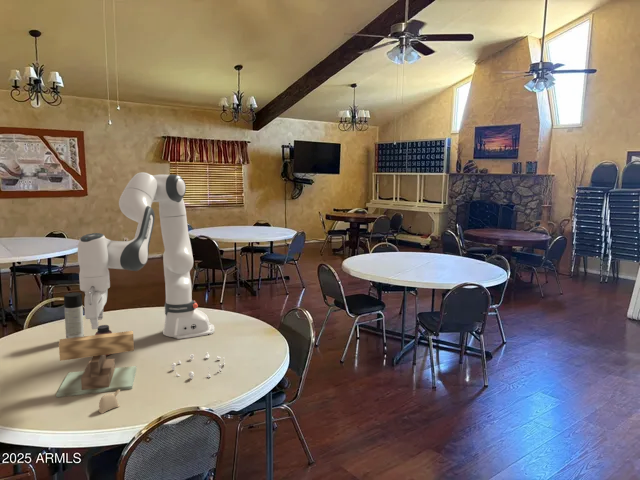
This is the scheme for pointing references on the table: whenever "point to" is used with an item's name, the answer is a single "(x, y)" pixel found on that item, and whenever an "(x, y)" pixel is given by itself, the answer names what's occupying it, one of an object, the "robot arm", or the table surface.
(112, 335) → the oak slat
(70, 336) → the spray can
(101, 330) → the supplement bottle
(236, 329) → the table surface
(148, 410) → the table surface
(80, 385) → the ridge stand
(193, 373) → the game piece set
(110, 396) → the decorative ornament
